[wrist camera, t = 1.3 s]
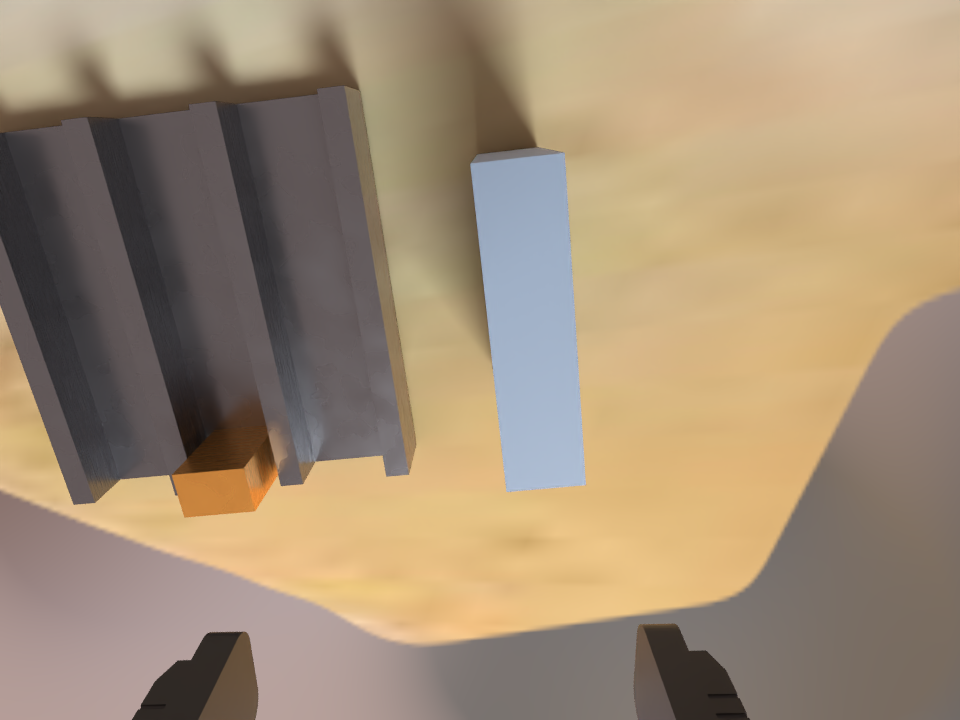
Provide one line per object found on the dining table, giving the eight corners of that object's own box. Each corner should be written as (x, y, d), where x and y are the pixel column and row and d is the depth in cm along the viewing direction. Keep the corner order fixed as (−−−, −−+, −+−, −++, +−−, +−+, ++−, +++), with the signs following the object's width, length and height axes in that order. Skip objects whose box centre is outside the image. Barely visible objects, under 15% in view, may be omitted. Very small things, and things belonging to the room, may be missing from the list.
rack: (-5, 135, 32) (-113, 135, 26) (360, 90, 31) (330, 80, 25) (110, 472, 38) (42, 531, 32) (416, 444, 37) (402, 499, 31)
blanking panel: (477, 154, 32) (470, 163, 20) (537, 147, 31) (564, 152, 20) (501, 378, 36) (506, 491, 24) (555, 373, 35) (585, 485, 24)
